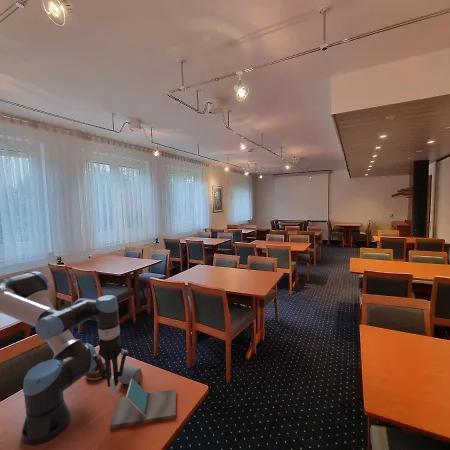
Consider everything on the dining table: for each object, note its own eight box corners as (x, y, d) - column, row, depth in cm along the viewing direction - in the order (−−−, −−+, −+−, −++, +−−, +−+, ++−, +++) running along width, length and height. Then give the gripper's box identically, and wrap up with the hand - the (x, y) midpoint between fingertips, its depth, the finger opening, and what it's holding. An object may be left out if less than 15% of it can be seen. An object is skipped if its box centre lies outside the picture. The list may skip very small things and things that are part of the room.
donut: (80, 379, 124) (80, 371, 124) (98, 366, 134) (97, 359, 134) (97, 384, 120) (97, 376, 120) (114, 370, 130) (114, 363, 130)
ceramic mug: (134, 389, 116) (133, 373, 116) (118, 386, 118) (117, 371, 118) (146, 374, 127) (146, 359, 126) (131, 372, 129) (131, 357, 128)
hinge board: (110, 429, 96) (110, 422, 96) (118, 400, 110) (118, 395, 110) (175, 418, 101) (175, 412, 100) (176, 392, 114) (175, 386, 114)
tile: (125, 397, 98) (128, 395, 98) (130, 379, 108) (132, 378, 108) (142, 414, 100) (144, 413, 100) (145, 395, 110) (147, 394, 110)
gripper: (88, 343, 95) (93, 402, 97) (125, 339, 97) (129, 397, 100) (94, 333, 103) (99, 388, 105) (129, 329, 105) (132, 384, 107)
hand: (113, 393), depth 102 cm, fingers closed
